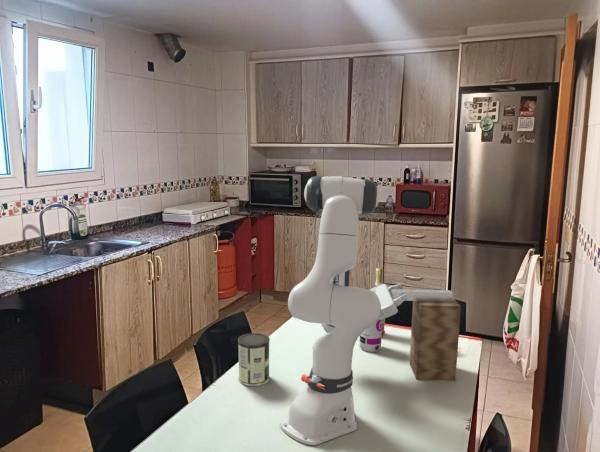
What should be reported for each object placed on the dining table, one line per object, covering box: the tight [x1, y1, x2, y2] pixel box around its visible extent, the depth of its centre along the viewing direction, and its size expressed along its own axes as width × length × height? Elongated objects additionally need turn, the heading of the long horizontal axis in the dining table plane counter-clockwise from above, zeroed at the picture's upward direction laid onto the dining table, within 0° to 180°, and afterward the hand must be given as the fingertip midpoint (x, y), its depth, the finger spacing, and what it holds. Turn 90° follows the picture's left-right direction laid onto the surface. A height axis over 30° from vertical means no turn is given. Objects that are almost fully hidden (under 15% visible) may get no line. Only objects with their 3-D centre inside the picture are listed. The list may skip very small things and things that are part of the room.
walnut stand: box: [409, 297, 462, 382], centre depth 170 cm, size 13×12×26 cm
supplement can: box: [358, 320, 383, 353], centre depth 191 cm, size 8×8×15 cm
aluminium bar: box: [391, 288, 454, 302], centre depth 168 cm, size 20×3×3 cm, turn 89°
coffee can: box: [237, 332, 271, 387], centre depth 164 cm, size 10×10×14 cm
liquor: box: [370, 267, 386, 336], centre depth 203 cm, size 7×7×28 cm
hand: (404, 290), depth 168 cm, fingers open, 8 cm apart
